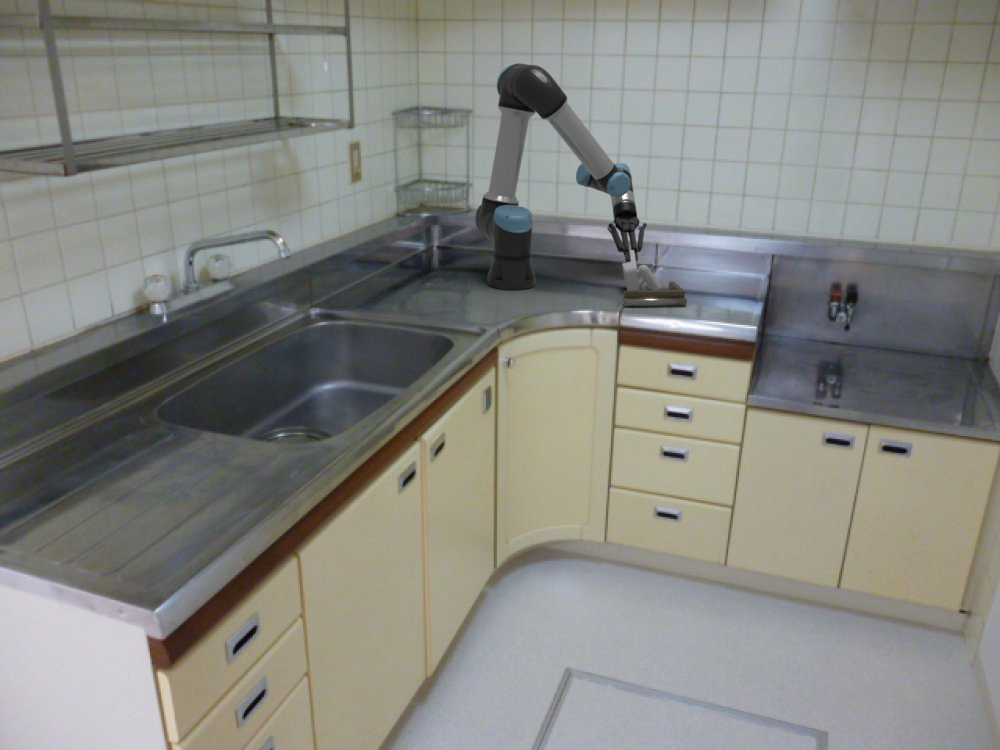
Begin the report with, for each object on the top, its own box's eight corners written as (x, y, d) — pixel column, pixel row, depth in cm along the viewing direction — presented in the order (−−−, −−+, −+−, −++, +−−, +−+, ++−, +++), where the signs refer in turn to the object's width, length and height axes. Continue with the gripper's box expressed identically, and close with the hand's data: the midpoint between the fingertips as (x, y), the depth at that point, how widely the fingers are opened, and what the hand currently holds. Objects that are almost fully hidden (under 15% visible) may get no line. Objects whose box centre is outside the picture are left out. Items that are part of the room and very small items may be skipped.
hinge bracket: (626, 307, 241) (627, 294, 239) (615, 294, 253) (616, 282, 251) (686, 307, 243) (687, 293, 241) (672, 294, 255) (673, 281, 253)
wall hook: (663, 293, 253) (658, 262, 249) (629, 300, 254) (624, 269, 250) (659, 286, 260) (654, 255, 257) (626, 293, 261) (621, 262, 258)
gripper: (640, 213, 278) (650, 275, 269) (602, 213, 276) (610, 276, 267) (646, 200, 271) (656, 263, 262) (607, 200, 269) (616, 264, 260)
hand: (633, 269), depth 265 cm, fingers closed
